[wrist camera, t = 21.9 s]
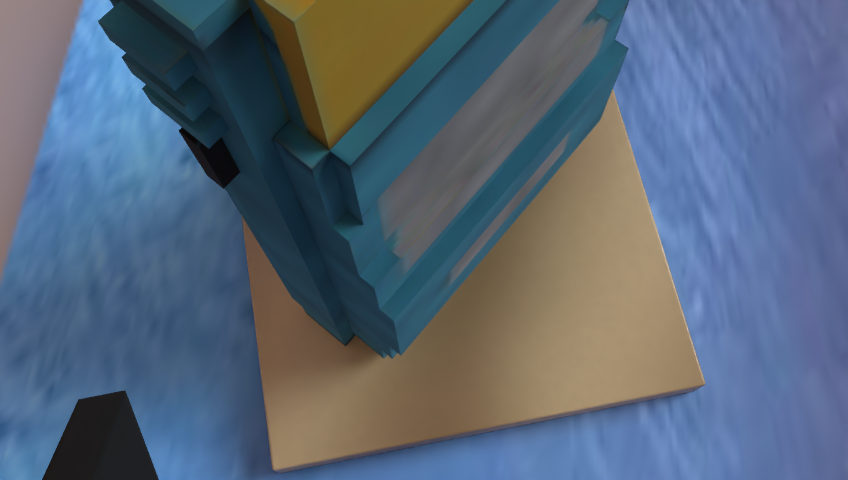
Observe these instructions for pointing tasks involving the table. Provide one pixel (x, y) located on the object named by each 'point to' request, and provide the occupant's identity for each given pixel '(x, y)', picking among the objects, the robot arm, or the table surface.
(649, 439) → the table surface
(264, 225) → the handheld gaming console
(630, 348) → the cork mat
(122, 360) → the table surface
